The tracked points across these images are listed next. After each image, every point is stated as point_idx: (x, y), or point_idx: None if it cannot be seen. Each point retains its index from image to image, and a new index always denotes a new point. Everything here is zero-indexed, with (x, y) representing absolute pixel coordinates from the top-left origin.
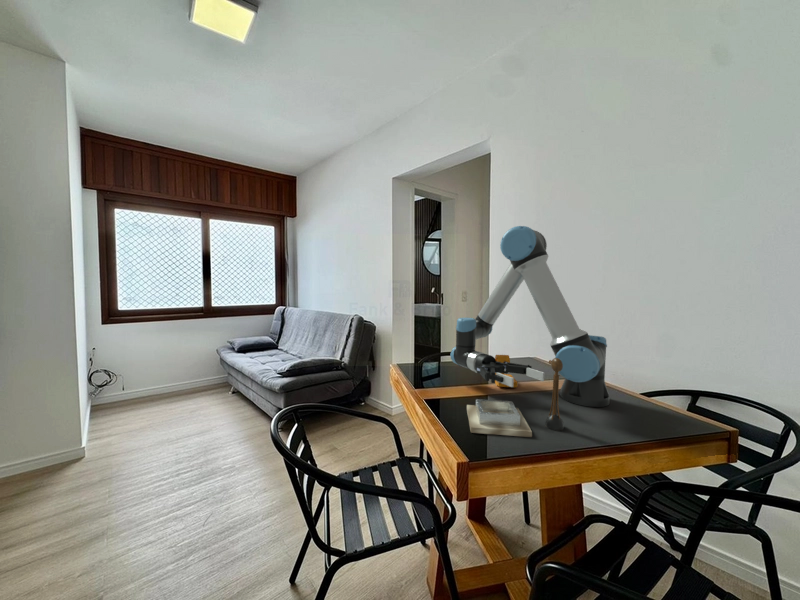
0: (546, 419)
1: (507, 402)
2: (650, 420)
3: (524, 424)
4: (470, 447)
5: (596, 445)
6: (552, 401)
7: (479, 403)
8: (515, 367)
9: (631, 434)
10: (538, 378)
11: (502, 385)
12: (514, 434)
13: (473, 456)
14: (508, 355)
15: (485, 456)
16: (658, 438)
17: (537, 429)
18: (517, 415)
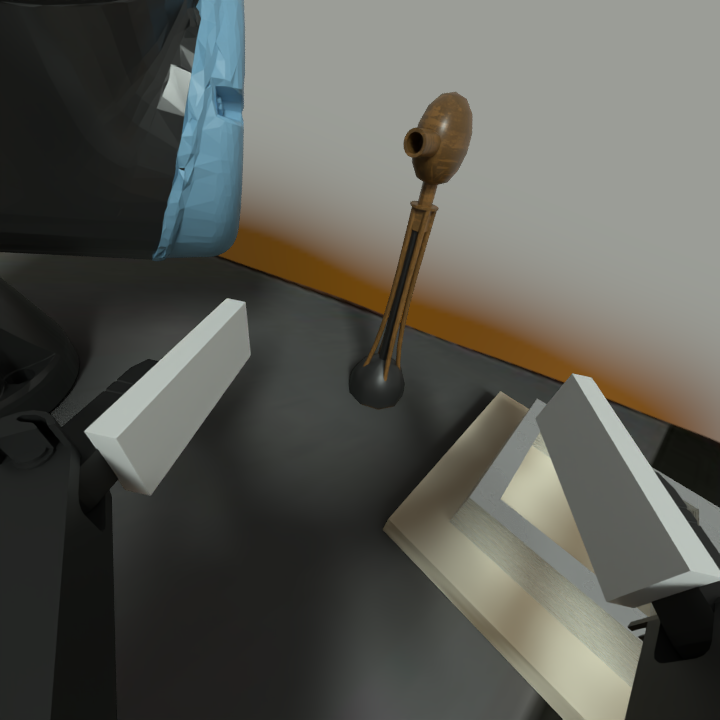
0: (396, 388)
1: (506, 504)
2: (131, 273)
3: (490, 422)
4: (715, 477)
5: (381, 319)
6: (397, 325)
7: None
8: (71, 657)
9: (264, 290)
10: (231, 371)
11: None
12: None
13: (708, 447)
14: None
15: (671, 430)
16: (248, 269)
17: (439, 410)
18: (544, 406)
